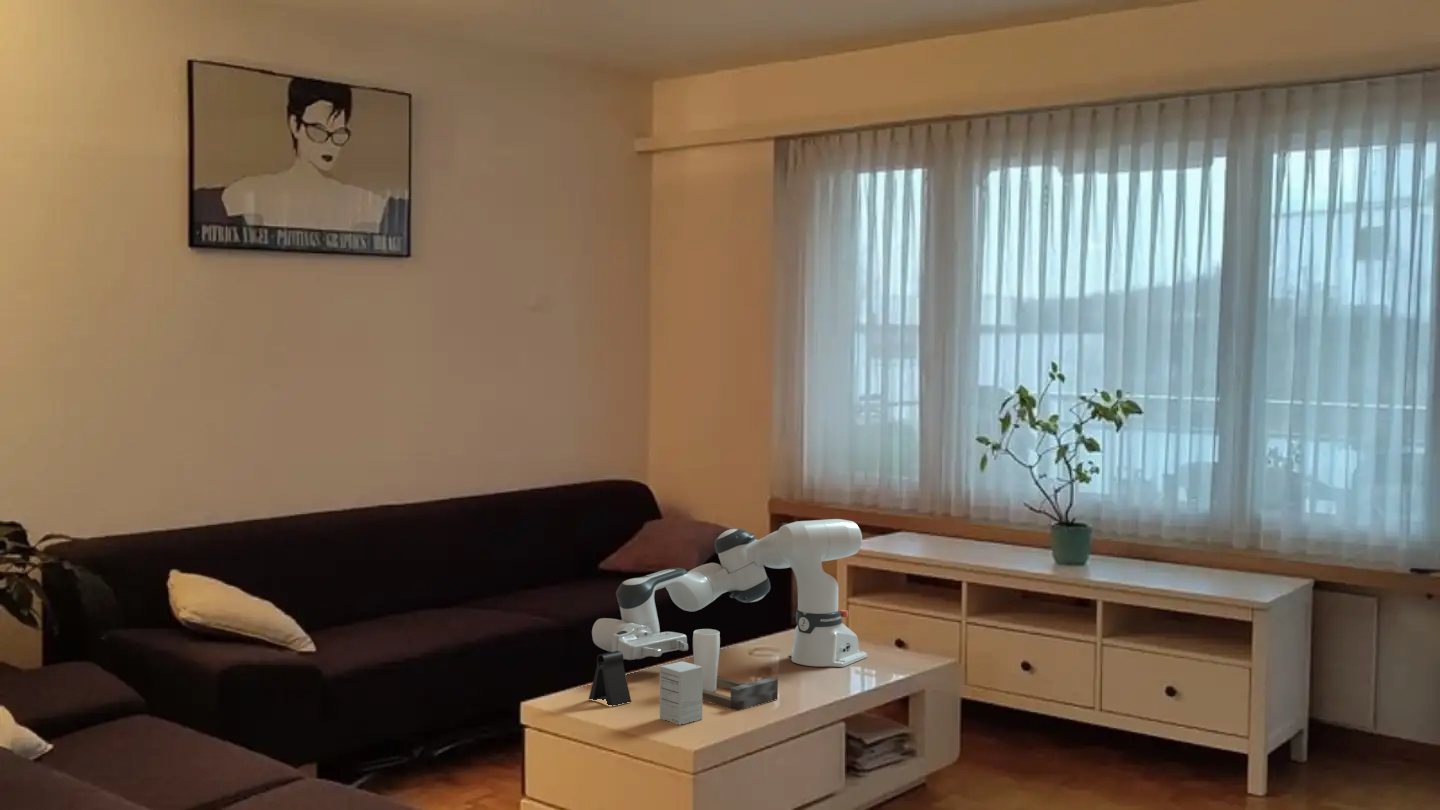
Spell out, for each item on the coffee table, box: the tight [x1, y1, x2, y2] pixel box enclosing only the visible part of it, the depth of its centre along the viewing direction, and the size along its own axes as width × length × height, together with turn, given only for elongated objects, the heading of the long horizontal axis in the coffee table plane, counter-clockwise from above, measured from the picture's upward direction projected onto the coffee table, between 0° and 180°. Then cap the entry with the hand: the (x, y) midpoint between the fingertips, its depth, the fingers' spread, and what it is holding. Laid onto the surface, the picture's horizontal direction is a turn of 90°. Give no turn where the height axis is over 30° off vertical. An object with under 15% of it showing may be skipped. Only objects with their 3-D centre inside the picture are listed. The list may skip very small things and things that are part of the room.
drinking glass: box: [692, 628, 721, 693], centre depth 341 cm, size 7×7×15 cm
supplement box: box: [659, 660, 703, 726], centre depth 316 cm, size 7×7×13 cm
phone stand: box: [588, 651, 632, 706], centre depth 330 cm, size 9×6×12 cm, turn 44°
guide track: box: [702, 675, 779, 711], centre depth 336 cm, size 14×22×5 cm, turn 45°
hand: (672, 650), depth 350 cm, fingers open, 8 cm apart
